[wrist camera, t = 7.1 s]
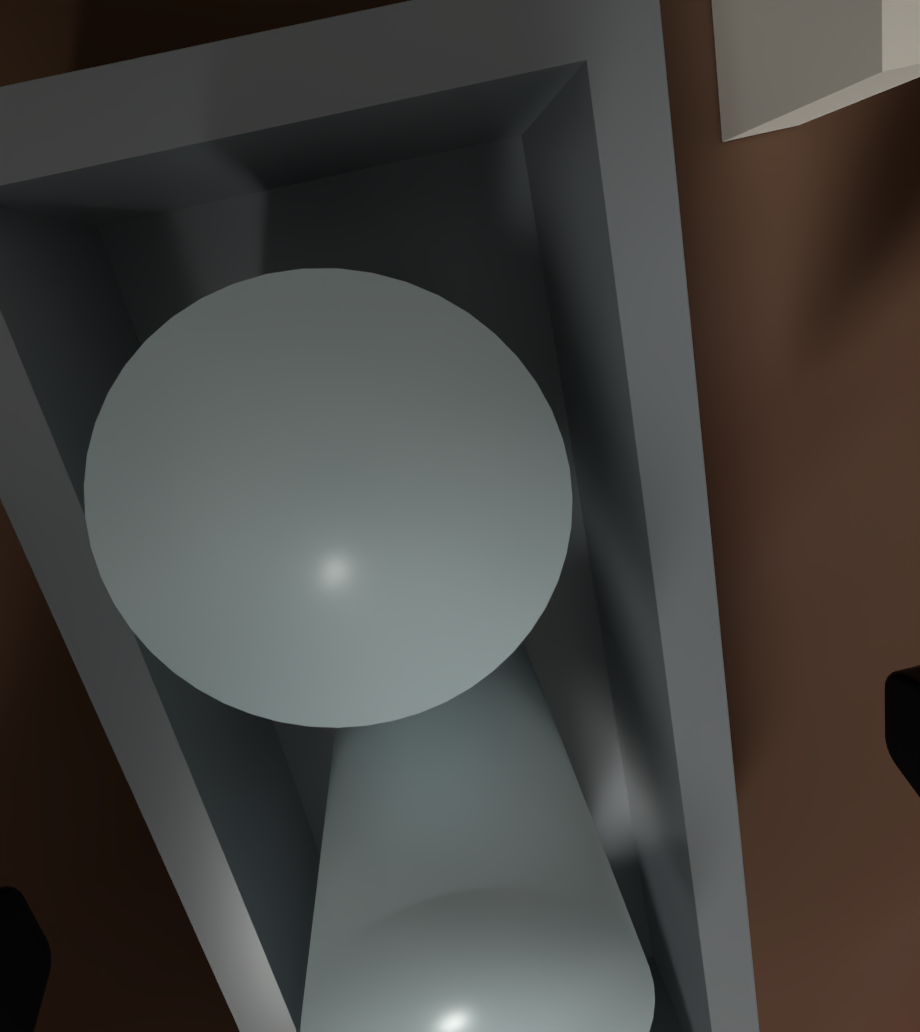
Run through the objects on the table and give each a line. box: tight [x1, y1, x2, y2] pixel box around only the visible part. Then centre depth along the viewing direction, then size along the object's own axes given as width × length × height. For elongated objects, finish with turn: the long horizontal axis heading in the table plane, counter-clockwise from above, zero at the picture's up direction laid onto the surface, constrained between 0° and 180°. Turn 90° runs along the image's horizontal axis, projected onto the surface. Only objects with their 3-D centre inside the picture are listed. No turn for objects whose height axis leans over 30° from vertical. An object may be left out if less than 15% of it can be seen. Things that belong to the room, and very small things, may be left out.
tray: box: [0, 0, 759, 1032], centre depth 8 cm, size 14×6×6 cm, turn 12°
